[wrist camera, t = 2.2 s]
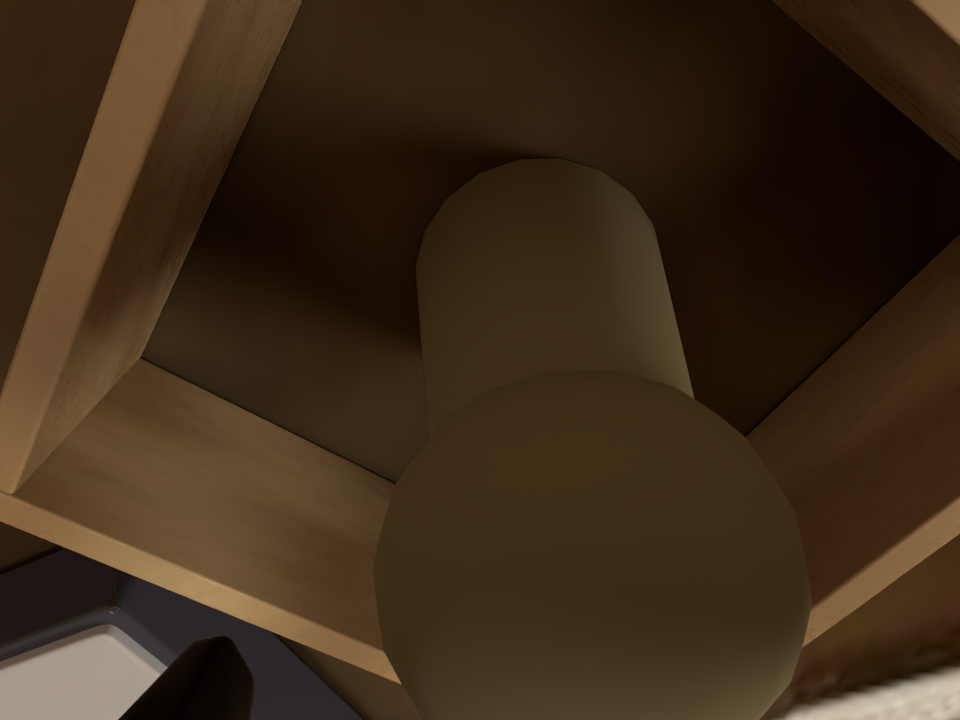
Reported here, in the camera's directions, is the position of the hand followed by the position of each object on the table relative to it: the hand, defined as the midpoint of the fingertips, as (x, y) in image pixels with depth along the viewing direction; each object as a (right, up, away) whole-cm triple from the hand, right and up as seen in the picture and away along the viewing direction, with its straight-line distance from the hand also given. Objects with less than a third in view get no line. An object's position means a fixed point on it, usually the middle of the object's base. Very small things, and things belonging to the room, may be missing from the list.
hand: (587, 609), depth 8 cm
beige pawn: (0, +5, +9) cm, 10 cm away
